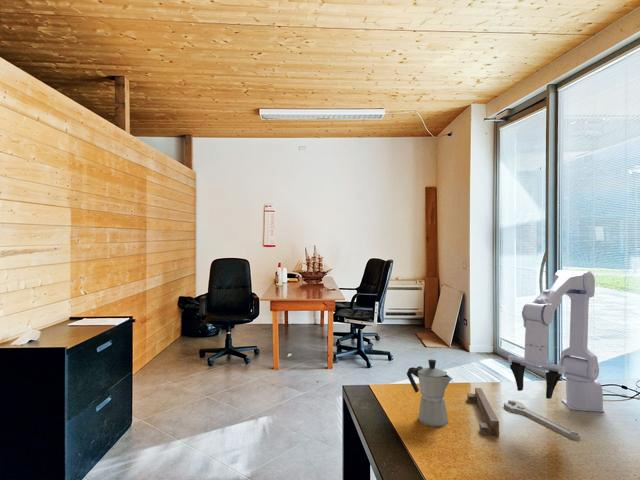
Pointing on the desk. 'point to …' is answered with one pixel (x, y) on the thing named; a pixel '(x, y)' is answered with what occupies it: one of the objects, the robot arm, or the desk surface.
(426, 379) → the coffee maker
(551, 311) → the robot arm
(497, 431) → the walnut bar
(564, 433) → the adjustable wrench
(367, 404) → the desk surface
